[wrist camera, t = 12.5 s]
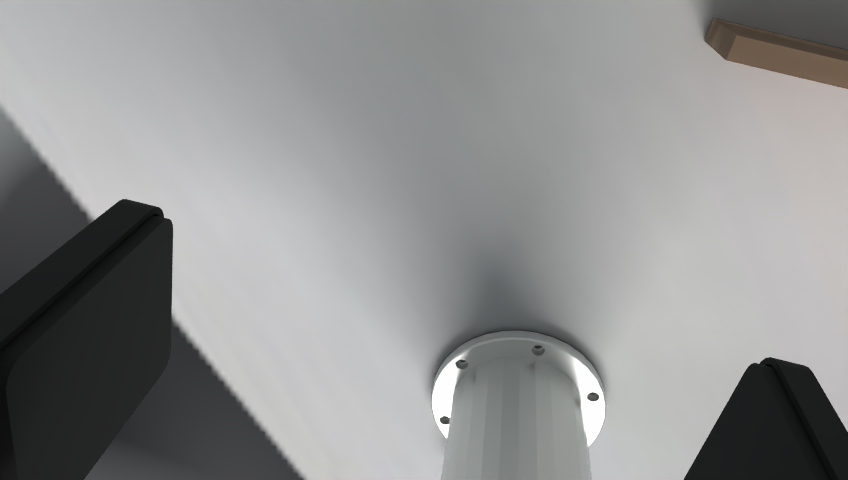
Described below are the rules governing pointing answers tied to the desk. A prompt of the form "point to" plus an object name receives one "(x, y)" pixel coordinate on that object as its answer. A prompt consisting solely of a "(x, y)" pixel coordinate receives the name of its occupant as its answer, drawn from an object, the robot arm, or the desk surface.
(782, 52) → the brown open frame
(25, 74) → the desk surface
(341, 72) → the desk surface
